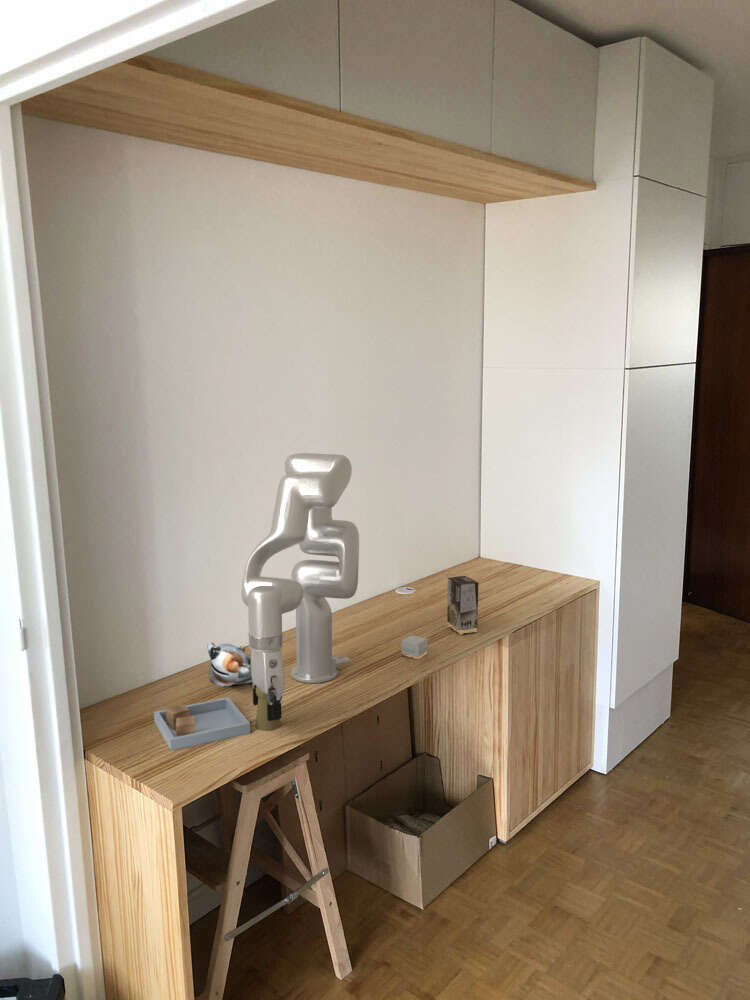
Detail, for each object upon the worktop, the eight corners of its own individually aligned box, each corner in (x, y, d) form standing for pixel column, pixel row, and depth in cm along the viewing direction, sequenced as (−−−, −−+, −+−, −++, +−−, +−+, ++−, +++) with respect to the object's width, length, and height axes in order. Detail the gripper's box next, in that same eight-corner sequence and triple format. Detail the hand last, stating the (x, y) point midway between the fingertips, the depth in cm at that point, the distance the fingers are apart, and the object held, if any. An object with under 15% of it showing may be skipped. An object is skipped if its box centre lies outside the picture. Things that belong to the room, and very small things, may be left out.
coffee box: (478, 633, 255) (479, 582, 252) (459, 635, 253) (460, 584, 250) (464, 623, 264) (465, 574, 261) (446, 626, 261) (447, 576, 258)
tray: (228, 708, 202) (228, 696, 202) (250, 735, 188) (249, 723, 188) (154, 723, 194) (153, 711, 194) (171, 753, 180) (170, 740, 180)
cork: (268, 719, 197) (267, 675, 195) (286, 726, 193) (285, 682, 191) (249, 728, 192) (248, 683, 190) (267, 736, 188) (266, 690, 186)
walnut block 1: (182, 719, 195) (182, 703, 194) (190, 725, 192) (189, 709, 191) (166, 724, 193) (165, 708, 192) (173, 730, 189) (173, 714, 189)
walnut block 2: (195, 732, 188) (194, 716, 188) (195, 740, 185) (194, 724, 184) (177, 734, 188) (176, 717, 187) (176, 742, 184) (176, 725, 183)
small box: (428, 654, 238) (428, 638, 237) (418, 660, 233) (418, 644, 232) (411, 650, 241) (411, 634, 240) (400, 656, 236) (400, 640, 235)
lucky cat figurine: (271, 677, 221) (266, 643, 212) (240, 707, 214) (234, 673, 205) (229, 651, 228) (224, 617, 219) (198, 680, 220) (191, 646, 211)
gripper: (295, 649, 182) (296, 723, 185) (268, 627, 198) (269, 695, 200) (262, 655, 179) (264, 729, 182) (237, 631, 194) (239, 700, 197)
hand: (267, 711), depth 191 cm, fingers open, 9 cm apart
